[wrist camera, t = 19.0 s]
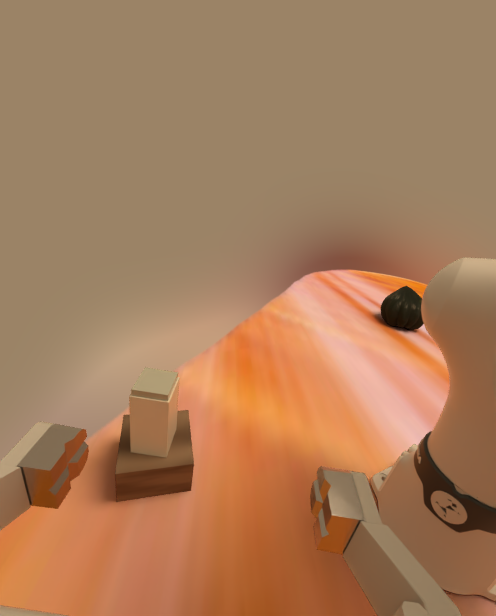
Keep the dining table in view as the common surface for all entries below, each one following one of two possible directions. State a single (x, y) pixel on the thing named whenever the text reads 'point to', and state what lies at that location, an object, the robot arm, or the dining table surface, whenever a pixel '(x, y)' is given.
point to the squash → (403, 309)
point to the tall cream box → (153, 412)
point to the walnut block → (155, 465)
